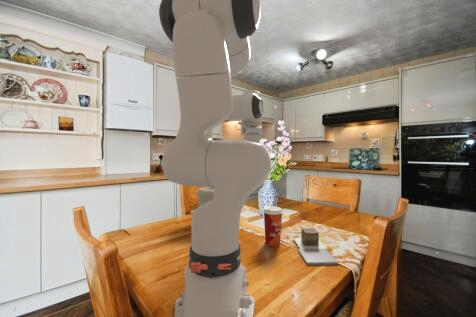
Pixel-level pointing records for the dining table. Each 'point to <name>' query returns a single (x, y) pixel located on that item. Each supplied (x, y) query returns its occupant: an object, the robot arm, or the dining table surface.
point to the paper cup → (272, 225)
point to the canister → (205, 195)
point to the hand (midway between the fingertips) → (251, 163)
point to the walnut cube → (309, 237)
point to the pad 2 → (317, 257)
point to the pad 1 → (302, 246)
